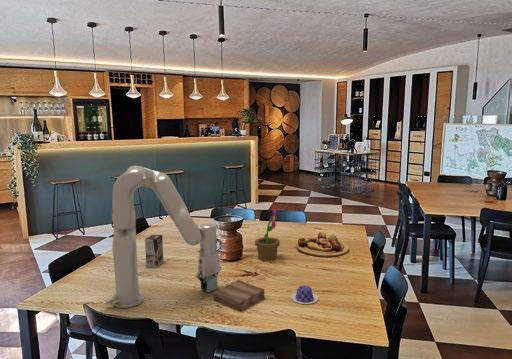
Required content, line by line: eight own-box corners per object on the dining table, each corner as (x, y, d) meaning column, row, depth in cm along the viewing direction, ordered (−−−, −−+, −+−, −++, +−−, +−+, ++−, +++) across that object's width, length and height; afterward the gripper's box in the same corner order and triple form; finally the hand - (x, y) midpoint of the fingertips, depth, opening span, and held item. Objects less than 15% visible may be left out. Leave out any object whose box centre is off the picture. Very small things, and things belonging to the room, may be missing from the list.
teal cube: (208, 292, 173) (208, 281, 173) (200, 288, 177) (200, 277, 176) (217, 288, 177) (217, 277, 177) (209, 285, 181) (209, 274, 180)
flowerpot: (276, 264, 208) (275, 211, 204) (251, 261, 213) (250, 209, 208) (282, 255, 222) (282, 205, 217) (259, 252, 226) (259, 203, 222)
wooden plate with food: (292, 256, 221) (292, 242, 220) (299, 238, 252) (299, 227, 250) (348, 261, 214) (349, 247, 212) (348, 243, 244) (349, 230, 243)
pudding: (285, 297, 170) (285, 286, 169) (306, 290, 176) (306, 280, 175) (302, 308, 160) (302, 296, 159) (323, 300, 166) (324, 289, 165)
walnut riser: (239, 311, 157) (239, 302, 156) (213, 300, 167) (213, 291, 166) (264, 297, 169) (264, 289, 168) (238, 287, 179) (238, 279, 178)
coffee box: (156, 268, 204) (155, 239, 202) (146, 267, 206) (144, 238, 203) (164, 262, 213) (162, 234, 211) (153, 261, 214) (152, 233, 212)
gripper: (199, 257, 166) (200, 296, 168) (227, 247, 178) (227, 283, 181) (188, 253, 170) (189, 291, 173) (216, 244, 183) (216, 279, 186)
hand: (209, 287), depth 177 cm, fingers closed on teal cube, 5 cm apart
